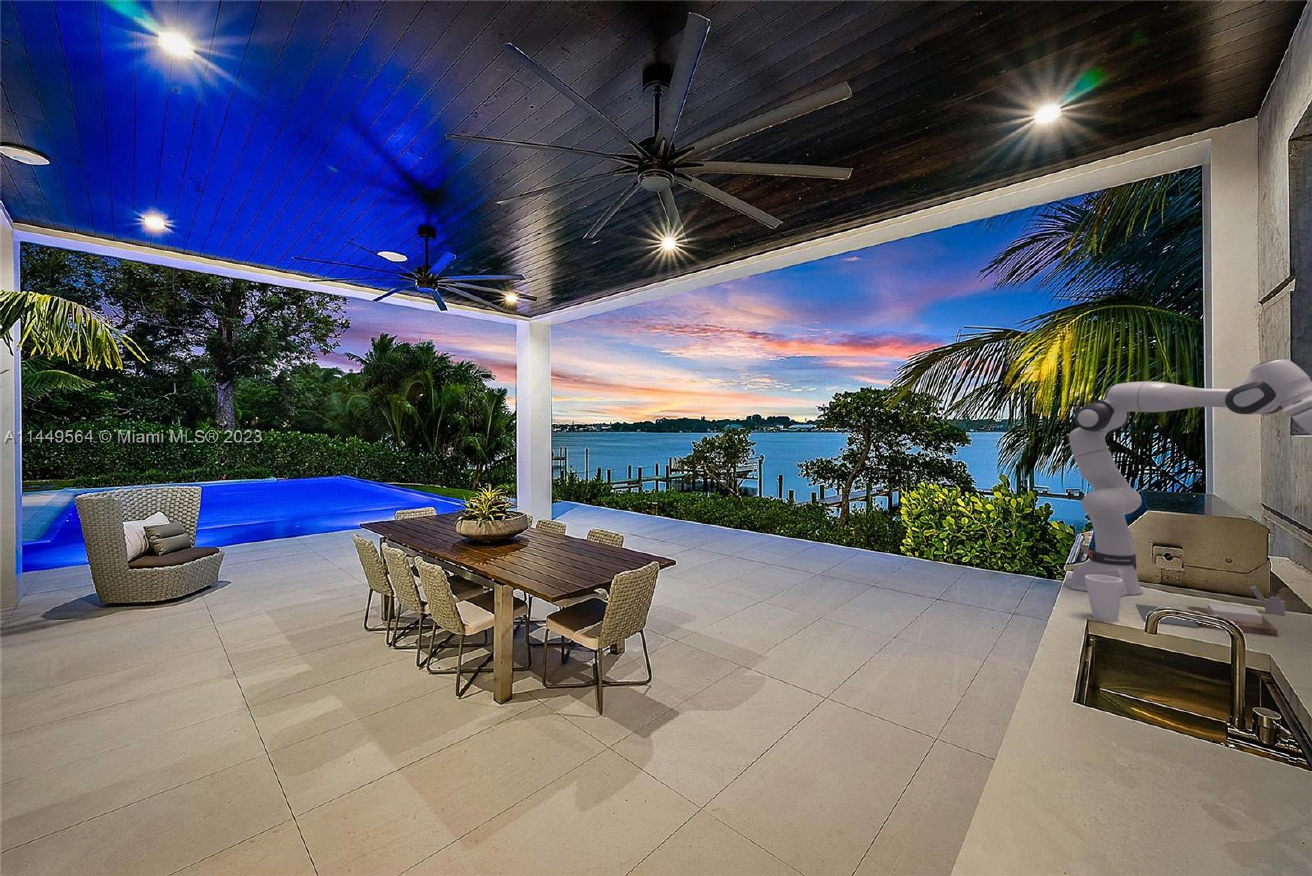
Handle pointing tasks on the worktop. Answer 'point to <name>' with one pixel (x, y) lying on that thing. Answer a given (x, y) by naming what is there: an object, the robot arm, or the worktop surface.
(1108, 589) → the foam cup
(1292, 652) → the worktop surface
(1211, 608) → the tile
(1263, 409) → the robot arm
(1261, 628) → the plate
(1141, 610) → the mat
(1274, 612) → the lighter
